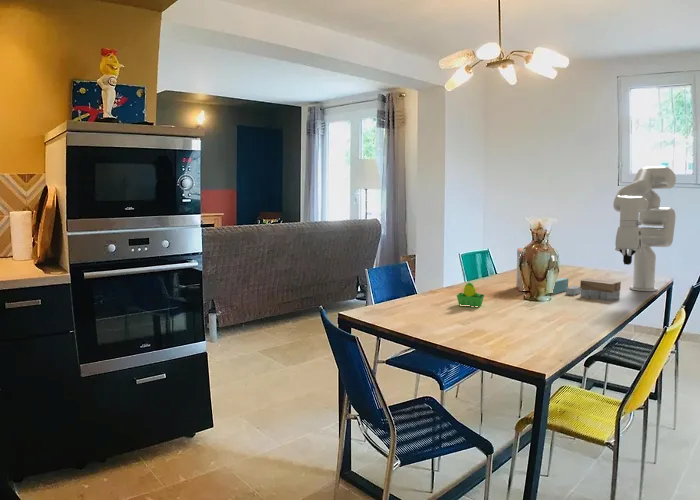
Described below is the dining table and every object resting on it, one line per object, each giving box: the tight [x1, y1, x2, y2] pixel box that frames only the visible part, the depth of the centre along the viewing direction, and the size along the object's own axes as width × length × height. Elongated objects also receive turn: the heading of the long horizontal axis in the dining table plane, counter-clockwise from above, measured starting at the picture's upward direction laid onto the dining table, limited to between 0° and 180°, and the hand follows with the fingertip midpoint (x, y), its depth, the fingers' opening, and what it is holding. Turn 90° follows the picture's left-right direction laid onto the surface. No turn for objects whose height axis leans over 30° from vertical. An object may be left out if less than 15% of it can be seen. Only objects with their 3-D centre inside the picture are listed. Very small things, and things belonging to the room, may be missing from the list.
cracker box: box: [515, 247, 524, 292], centre depth 282 cm, size 14×6×21 cm, turn 168°
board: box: [579, 277, 622, 293], centre depth 259 cm, size 9×15×4 cm, turn 41°
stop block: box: [552, 277, 569, 295], centre depth 275 cm, size 14×3×6 cm, turn 132°
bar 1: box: [565, 285, 581, 296], centre depth 269 cm, size 8×4×3 cm, turn 135°
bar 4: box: [598, 289, 621, 301], centre depth 256 cm, size 9×4×4 cm, turn 119°
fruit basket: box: [456, 282, 485, 308], centre depth 245 cm, size 11×9×11 cm
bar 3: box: [590, 290, 600, 300], centre depth 260 cm, size 9×4×4 cm, turn 131°
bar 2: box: [580, 289, 591, 299], centre depth 264 cm, size 9×4×4 cm, turn 139°
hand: (627, 264), depth 249 cm, fingers closed
